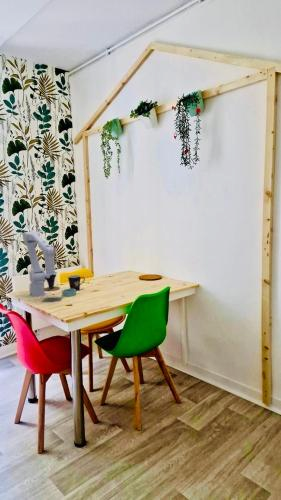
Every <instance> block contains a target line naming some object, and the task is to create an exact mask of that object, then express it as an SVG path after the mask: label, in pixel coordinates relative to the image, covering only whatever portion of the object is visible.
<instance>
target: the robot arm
mask: <svg viewBox="0 0 281 500" xmlns="http://www.w3.org/2000/svg"><path fill="white" fill-rule="evenodd" d="M22 240H23V243H24V245H25V246H26V248H27V251H28V257H29V261H30V264H31V270H30V272H29V273H28V274H29V281H30V283H29V297H30V298H34V297H37V298H39V297H45V296H46V295H47V292H46V291H44V288H45V283H46V282H47V284H48V286H47V287H53V282H54V283H55V280H56V277H57V274H58V271H56V266H55V264H56V263H55V255H56V249H55V247H54V246H52V245H50V244H49V243H48V242H47V241H46V240H43V238H42V237H41V234H40V232H39V231H38V230H35V231H24V232H23V233H22ZM37 244H38V245H37ZM36 245H37V247H38V248H39V249H40V250H41V252H42V255H43V260H44V266H45V267H44V268H45V269H43V268H41V267H40V263H39V259H38V258H39V257H38V255H37V254H38V253H37V251H36V250H37V249H36Z"/></svg>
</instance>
